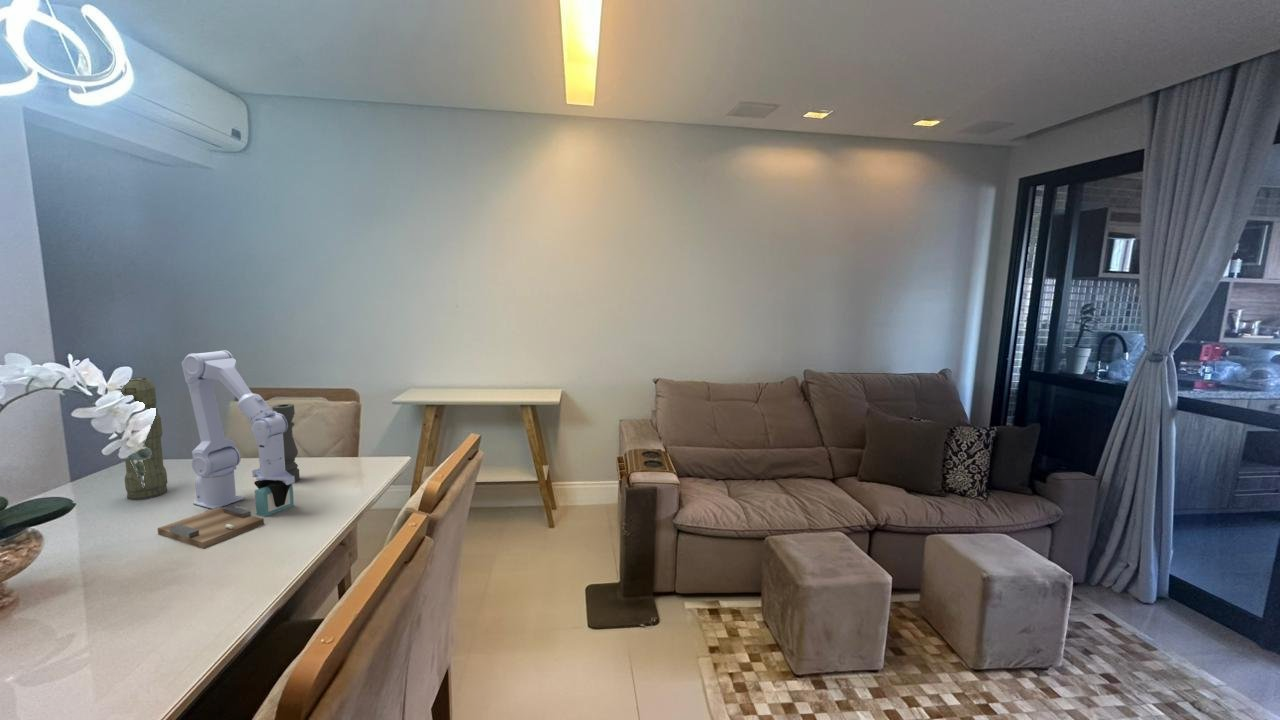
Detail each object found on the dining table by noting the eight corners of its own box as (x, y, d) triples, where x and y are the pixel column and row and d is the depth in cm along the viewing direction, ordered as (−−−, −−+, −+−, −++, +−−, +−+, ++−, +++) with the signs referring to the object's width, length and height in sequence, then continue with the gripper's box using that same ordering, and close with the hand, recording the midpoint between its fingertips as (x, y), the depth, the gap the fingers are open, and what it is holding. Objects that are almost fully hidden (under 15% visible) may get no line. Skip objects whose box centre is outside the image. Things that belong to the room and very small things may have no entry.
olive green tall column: (120, 504, 143) (106, 383, 139) (133, 490, 153) (121, 376, 149) (162, 498, 148) (150, 381, 143) (172, 484, 158) (161, 374, 153)
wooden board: (158, 533, 127) (157, 523, 127) (220, 511, 140) (219, 502, 140) (203, 548, 121) (202, 537, 121) (263, 524, 134) (263, 514, 134)
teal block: (256, 514, 140) (254, 490, 139) (285, 503, 147) (284, 480, 146) (265, 516, 138) (263, 492, 138) (293, 505, 146) (292, 482, 145)
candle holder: (303, 480, 165) (298, 405, 162) (281, 485, 160) (276, 408, 156) (294, 476, 168) (289, 402, 165) (273, 481, 163) (267, 406, 160)
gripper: (239, 458, 140) (242, 505, 141) (274, 466, 135) (278, 514, 136) (265, 451, 146) (269, 496, 148) (300, 458, 141) (303, 504, 143)
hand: (275, 504), depth 143 cm, fingers closed on teal block, 3 cm apart
